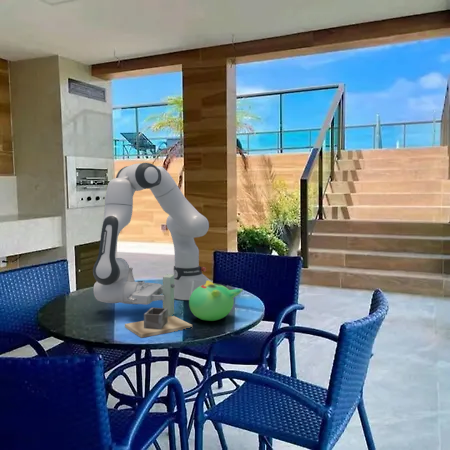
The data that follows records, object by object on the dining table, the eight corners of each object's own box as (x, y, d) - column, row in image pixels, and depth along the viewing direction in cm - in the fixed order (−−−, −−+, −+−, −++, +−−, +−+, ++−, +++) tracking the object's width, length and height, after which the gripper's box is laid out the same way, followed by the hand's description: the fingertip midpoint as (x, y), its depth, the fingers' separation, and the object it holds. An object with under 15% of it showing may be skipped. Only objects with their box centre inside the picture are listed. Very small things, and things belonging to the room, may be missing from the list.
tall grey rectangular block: (166, 313, 189) (166, 274, 187) (177, 314, 188) (177, 274, 187) (162, 317, 183) (162, 277, 182) (173, 318, 182) (173, 277, 181)
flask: (133, 290, 229) (133, 269, 228) (119, 289, 230) (119, 269, 229) (139, 286, 236) (139, 267, 235) (125, 286, 237) (125, 266, 237)
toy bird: (211, 311, 194) (211, 275, 192) (244, 319, 183) (244, 281, 182) (180, 320, 180) (180, 282, 178) (213, 329, 169) (214, 289, 168)
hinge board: (173, 318, 182) (173, 302, 181) (192, 328, 170) (192, 311, 170) (124, 327, 170) (124, 310, 170) (141, 337, 159) (141, 319, 158)
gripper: (124, 291, 176) (160, 292, 174) (142, 280, 197) (174, 281, 195) (124, 307, 177) (160, 309, 175) (142, 294, 197) (174, 296, 195)
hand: (168, 294), depth 185 cm, fingers open, 8 cm apart
